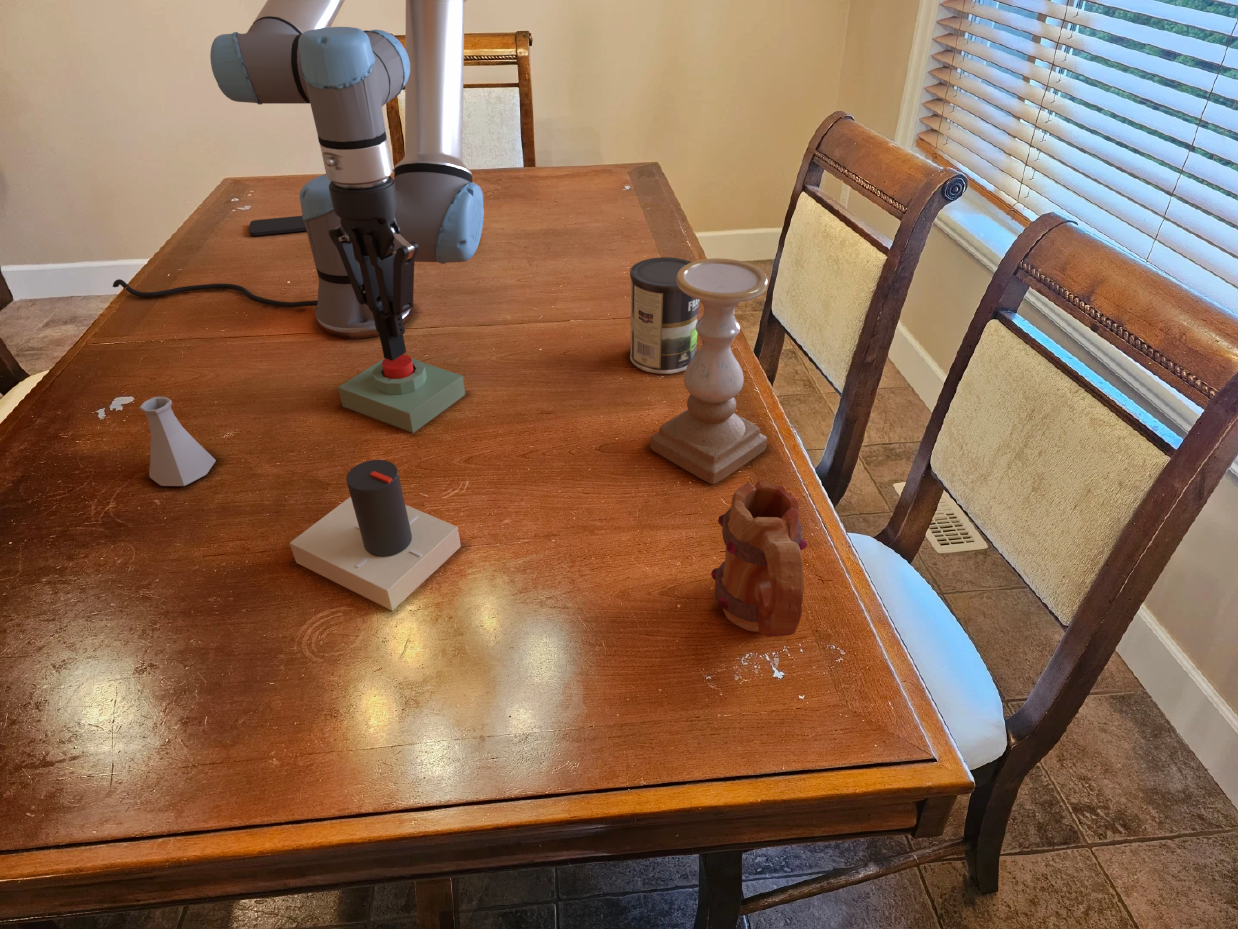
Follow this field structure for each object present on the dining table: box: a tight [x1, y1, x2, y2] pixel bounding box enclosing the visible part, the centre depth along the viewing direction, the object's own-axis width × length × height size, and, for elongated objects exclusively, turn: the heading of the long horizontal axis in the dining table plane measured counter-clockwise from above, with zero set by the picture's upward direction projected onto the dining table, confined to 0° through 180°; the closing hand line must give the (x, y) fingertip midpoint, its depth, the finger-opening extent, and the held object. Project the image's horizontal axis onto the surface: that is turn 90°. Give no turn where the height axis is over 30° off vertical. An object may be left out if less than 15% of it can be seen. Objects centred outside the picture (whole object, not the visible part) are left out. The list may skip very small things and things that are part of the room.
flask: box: [139, 396, 217, 487], centre depth 97 cm, size 7×7×10 cm
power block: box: [337, 357, 466, 434], centre depth 111 cm, size 13×11×5 cm
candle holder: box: [649, 257, 769, 485], centre depth 96 cm, size 11×11×24 cm
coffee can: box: [629, 256, 701, 375], centre depth 117 cm, size 10×10×14 cm
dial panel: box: [289, 496, 462, 612], centre depth 87 cm, size 14×11×3 cm
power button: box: [382, 354, 414, 379], centre depth 109 cm, size 4×4×2 cm
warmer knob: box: [345, 459, 412, 557], centre depth 82 cm, size 5×5×9 cm
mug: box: [710, 480, 808, 638], centre depth 75 cm, size 15×8×15 cm, turn 5°
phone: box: [248, 215, 307, 237], centre depth 164 cm, size 7×1×15 cm
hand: (395, 354), depth 108 cm, fingers closed
